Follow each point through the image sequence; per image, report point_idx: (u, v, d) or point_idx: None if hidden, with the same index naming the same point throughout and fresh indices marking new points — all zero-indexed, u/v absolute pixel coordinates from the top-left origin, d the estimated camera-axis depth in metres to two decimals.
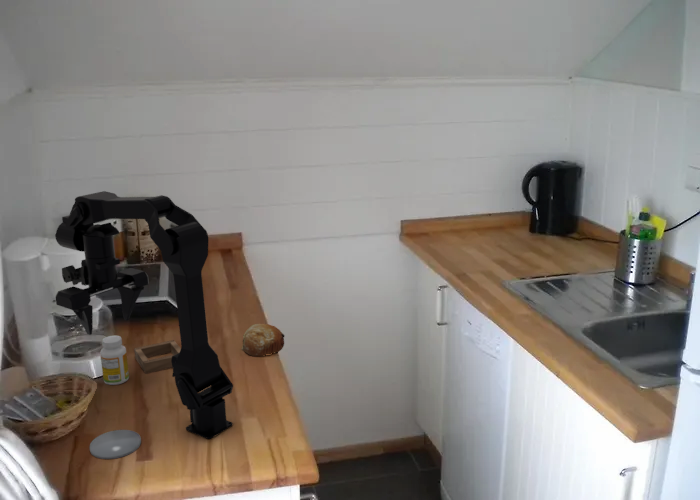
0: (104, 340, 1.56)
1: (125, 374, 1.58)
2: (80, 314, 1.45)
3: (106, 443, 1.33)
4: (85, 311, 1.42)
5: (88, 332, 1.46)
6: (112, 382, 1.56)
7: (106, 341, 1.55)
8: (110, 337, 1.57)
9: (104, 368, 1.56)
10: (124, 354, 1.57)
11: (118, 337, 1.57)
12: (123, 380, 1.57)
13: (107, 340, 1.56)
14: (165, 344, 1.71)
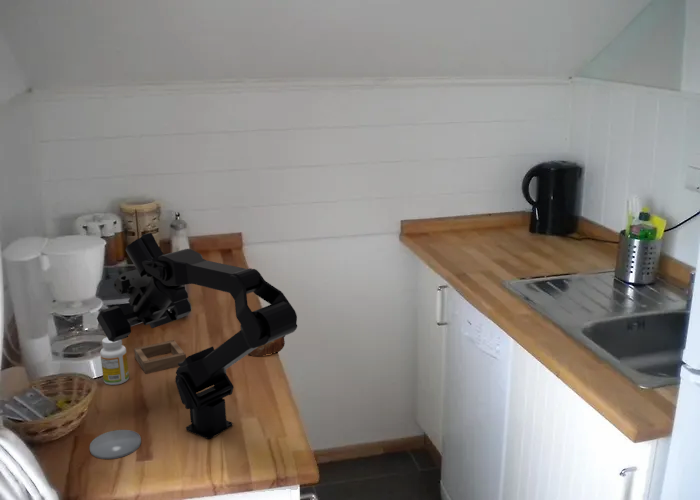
0: (104, 340, 1.56)
1: (125, 374, 1.58)
2: None
3: (106, 443, 1.33)
4: None
5: None
6: (112, 382, 1.56)
7: (106, 341, 1.55)
8: None
9: (104, 368, 1.56)
10: (124, 354, 1.57)
11: None
12: (123, 380, 1.57)
13: (107, 340, 1.56)
14: (165, 344, 1.71)
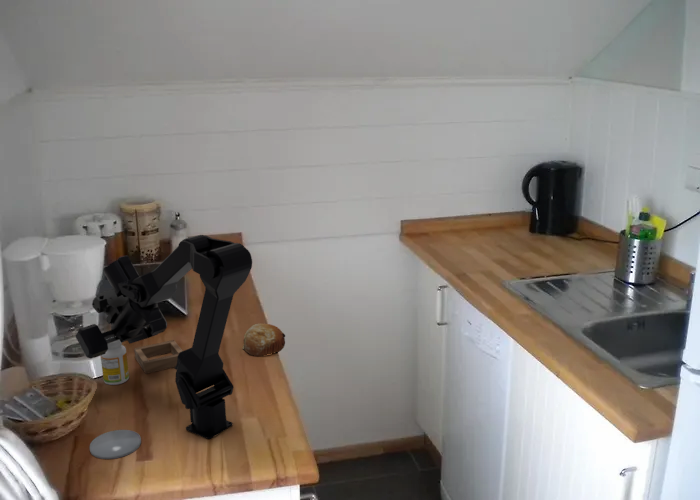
0: None
1: (125, 374, 1.58)
2: None
3: (106, 443, 1.33)
4: (97, 356, 1.48)
5: None
6: (112, 382, 1.56)
7: None
8: None
9: (104, 368, 1.56)
10: (124, 354, 1.57)
11: None
12: (123, 380, 1.57)
13: None
14: (165, 344, 1.71)
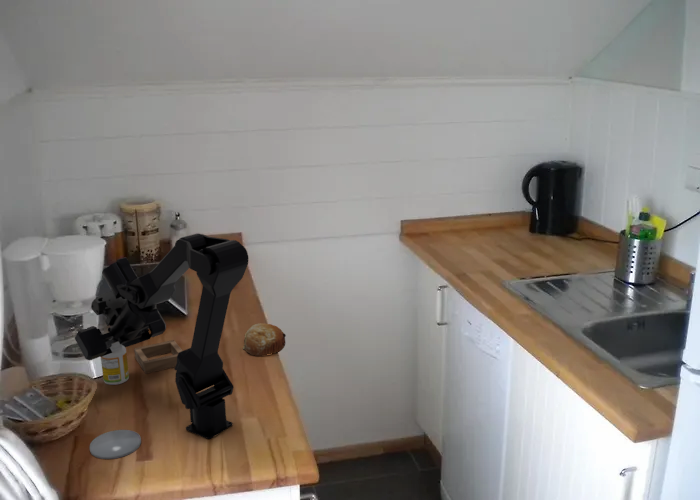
0: None
1: (125, 374, 1.58)
2: None
3: (106, 443, 1.33)
4: (104, 355, 1.50)
5: None
6: (112, 382, 1.56)
7: None
8: None
9: (104, 367, 1.56)
10: (124, 354, 1.57)
11: None
12: (123, 380, 1.57)
13: None
14: (165, 344, 1.71)
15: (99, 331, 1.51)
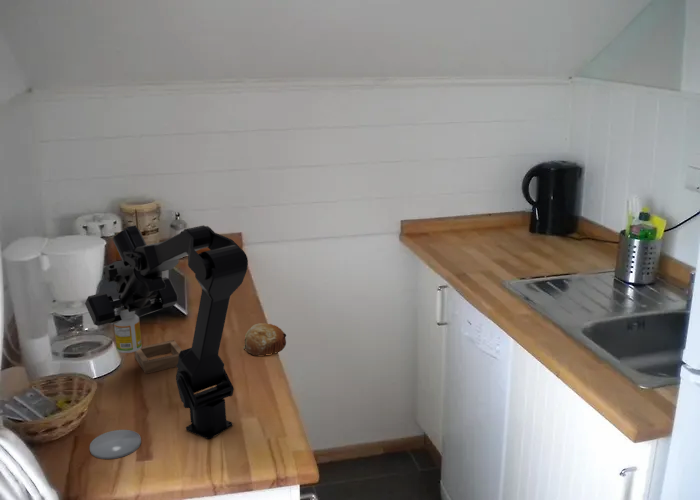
0: None
1: (137, 343, 1.59)
2: None
3: (106, 443, 1.33)
4: (113, 322, 1.52)
5: (111, 322, 1.57)
6: (124, 350, 1.58)
7: None
8: None
9: (116, 335, 1.58)
10: (136, 323, 1.58)
11: None
12: (135, 349, 1.59)
13: None
14: (165, 344, 1.71)
15: (111, 298, 1.53)
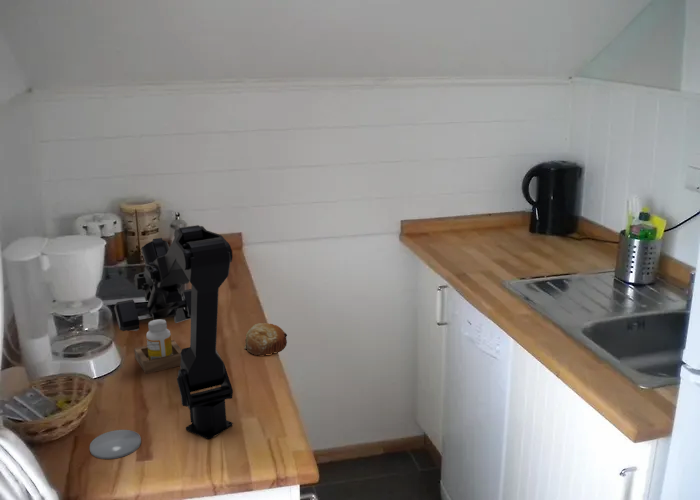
0: (150, 322, 1.65)
1: None
2: None
3: (106, 443, 1.33)
4: None
5: None
6: None
7: (151, 324, 1.64)
8: (157, 320, 1.66)
9: (148, 348, 1.65)
10: (166, 338, 1.65)
11: (163, 321, 1.65)
12: None
13: (152, 323, 1.65)
14: None
15: None
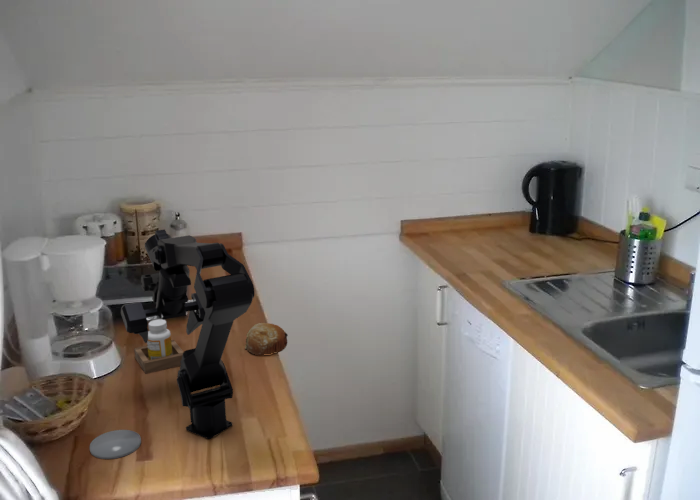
0: (150, 322, 1.65)
1: None
2: None
3: (106, 443, 1.33)
4: (140, 333, 1.47)
5: (144, 340, 1.53)
6: None
7: (151, 324, 1.64)
8: (157, 321, 1.66)
9: (148, 348, 1.65)
10: (166, 338, 1.64)
11: (163, 321, 1.65)
12: None
13: (152, 323, 1.65)
14: None
15: None
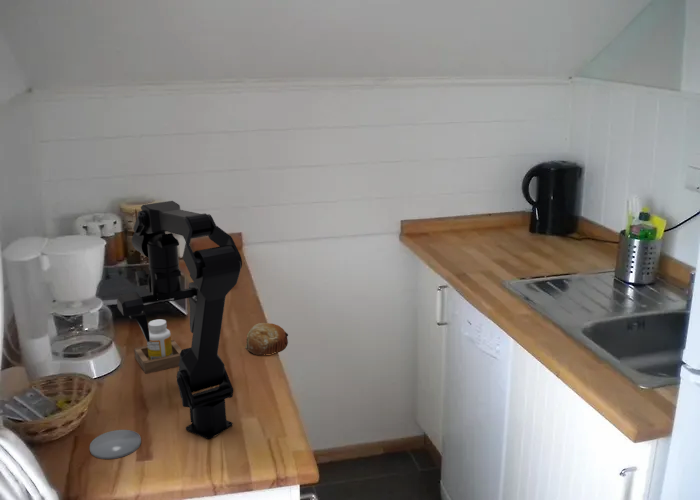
0: (150, 322, 1.65)
1: None
2: None
3: (106, 443, 1.33)
4: (138, 319, 1.42)
5: (146, 339, 1.46)
6: None
7: (151, 324, 1.64)
8: (157, 320, 1.66)
9: (148, 348, 1.65)
10: (166, 338, 1.65)
11: (163, 321, 1.65)
12: None
13: (152, 323, 1.65)
14: None
15: None
